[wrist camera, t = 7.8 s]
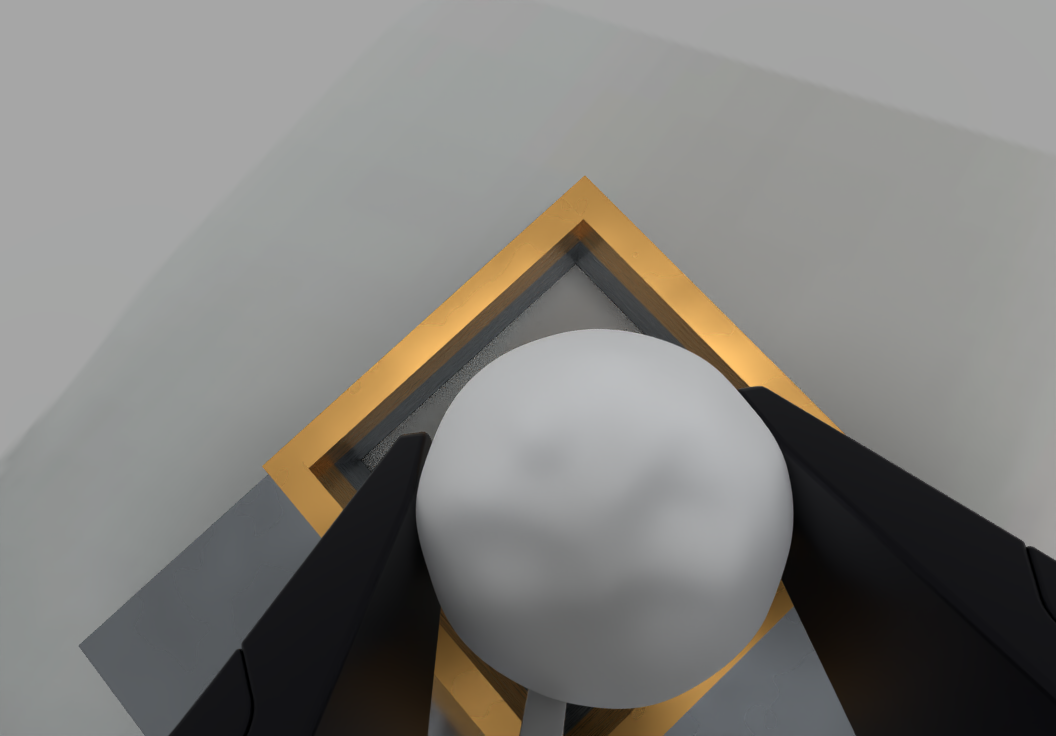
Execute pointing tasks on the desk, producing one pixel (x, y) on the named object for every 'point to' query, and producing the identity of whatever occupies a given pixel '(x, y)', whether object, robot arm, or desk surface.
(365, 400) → the orange-framed metal plate
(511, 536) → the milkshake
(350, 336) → the desk surface
